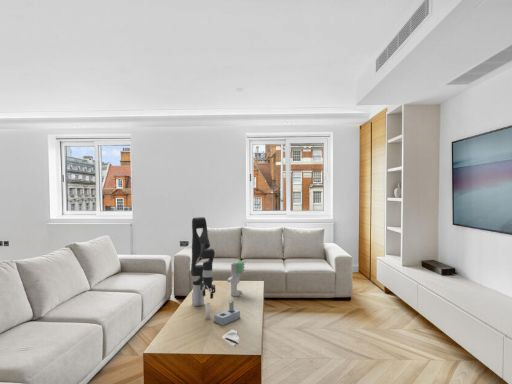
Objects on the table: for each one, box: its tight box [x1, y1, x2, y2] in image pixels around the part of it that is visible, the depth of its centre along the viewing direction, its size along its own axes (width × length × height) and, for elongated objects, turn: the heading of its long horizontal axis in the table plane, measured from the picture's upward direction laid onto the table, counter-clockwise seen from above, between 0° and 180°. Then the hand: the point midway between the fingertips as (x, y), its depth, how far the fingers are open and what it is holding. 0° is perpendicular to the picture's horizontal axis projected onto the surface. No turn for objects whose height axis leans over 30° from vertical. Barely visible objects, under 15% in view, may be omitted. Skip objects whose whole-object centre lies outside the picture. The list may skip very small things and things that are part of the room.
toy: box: [226, 260, 245, 297], centre depth 295 cm, size 30×10×30 cm, turn 167°
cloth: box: [221, 328, 240, 348], centre depth 208 cm, size 26×14×2 cm, turn 174°
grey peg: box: [228, 300, 235, 313], centre depth 241 cm, size 3×3×12 cm
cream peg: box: [205, 301, 211, 320], centre depth 240 cm, size 3×3×12 cm
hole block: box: [213, 308, 241, 326], centre depth 237 cm, size 9×18×5 cm, turn 140°
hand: (207, 297), depth 240 cm, fingers open, 8 cm apart
